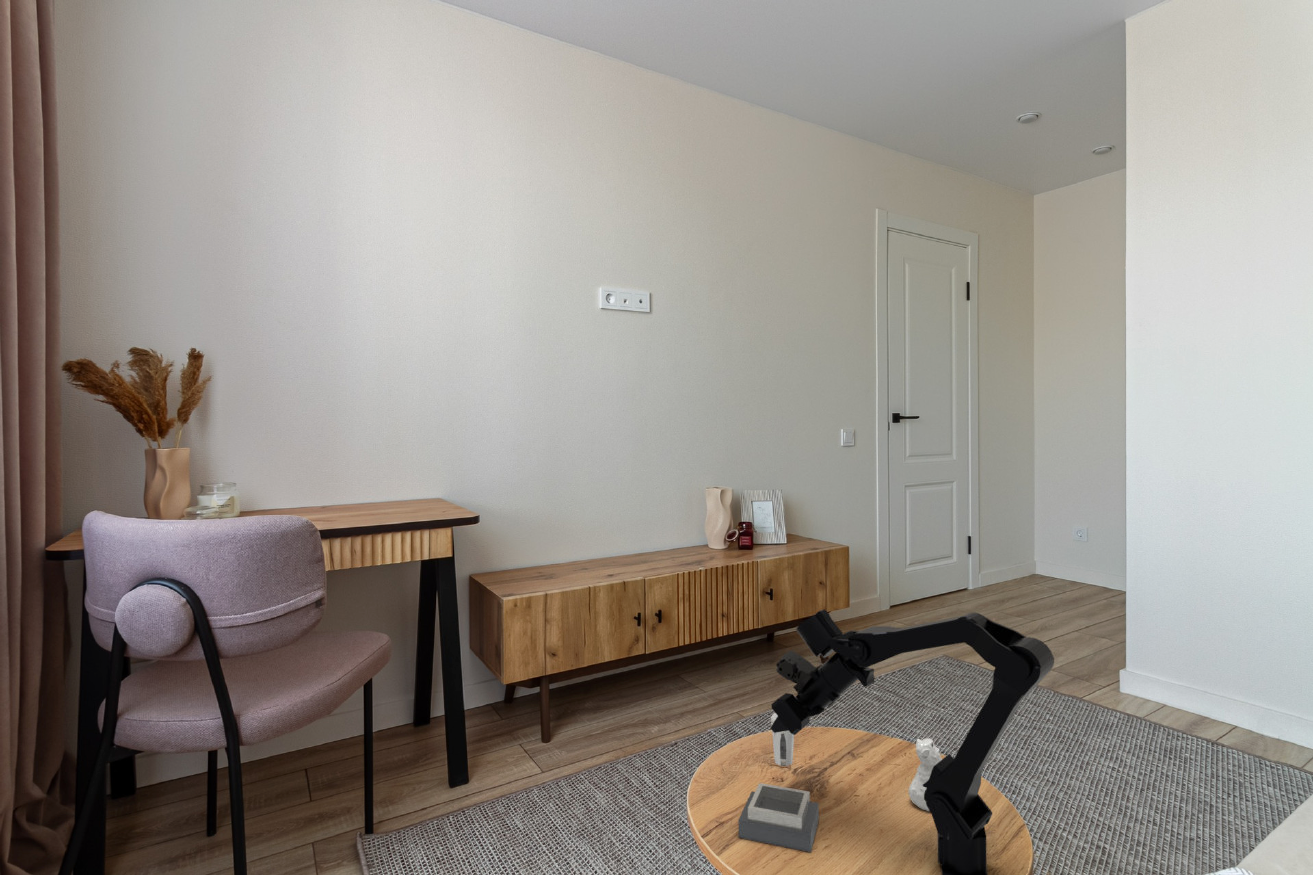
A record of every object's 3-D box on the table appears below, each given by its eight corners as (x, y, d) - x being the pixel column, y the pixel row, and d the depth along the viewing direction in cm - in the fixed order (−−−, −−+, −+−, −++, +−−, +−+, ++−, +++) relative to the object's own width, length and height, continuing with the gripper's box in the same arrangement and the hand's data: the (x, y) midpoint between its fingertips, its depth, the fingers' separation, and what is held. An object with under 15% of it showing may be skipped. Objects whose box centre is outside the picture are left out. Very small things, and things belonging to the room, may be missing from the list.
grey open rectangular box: (818, 820, 121) (818, 791, 121) (810, 852, 112) (810, 821, 112) (751, 807, 125) (751, 780, 125) (738, 837, 116) (738, 808, 116)
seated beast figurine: (966, 821, 121) (966, 753, 121) (916, 819, 121) (915, 751, 121) (949, 793, 130) (948, 730, 130) (902, 791, 131) (901, 728, 131)
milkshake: (800, 769, 126) (799, 714, 126) (770, 766, 127) (770, 712, 127) (800, 758, 130) (799, 705, 131) (771, 756, 131) (771, 703, 132)
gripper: (822, 629, 134) (772, 675, 140) (781, 654, 119) (726, 704, 125) (863, 677, 129) (809, 723, 136) (825, 709, 114) (766, 759, 121)
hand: (778, 725), depth 130 cm, fingers closed on milkshake, 4 cm apart
